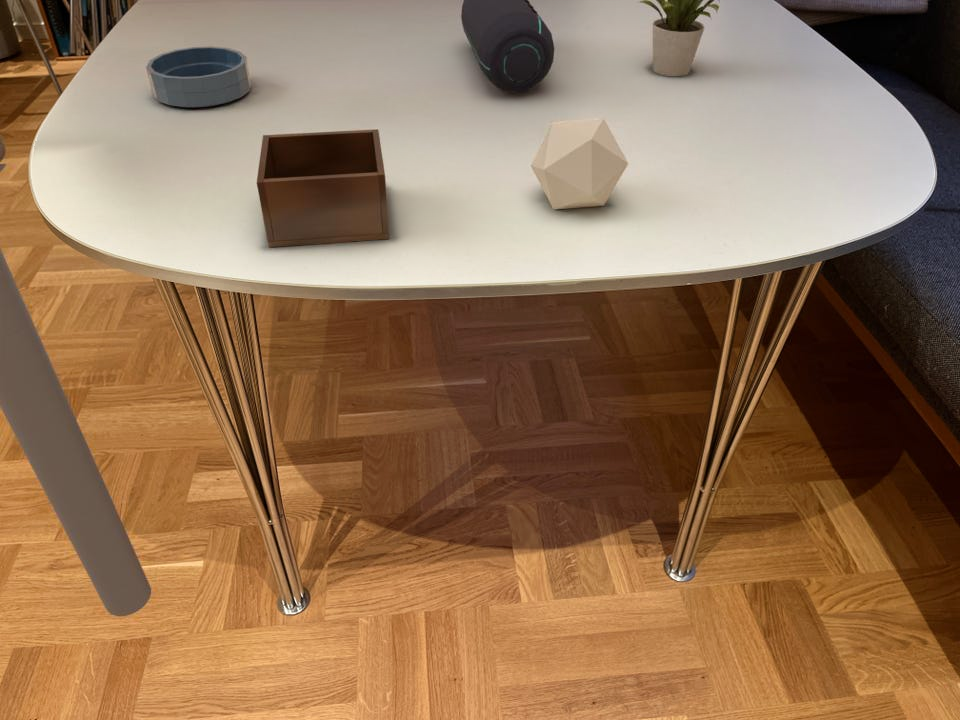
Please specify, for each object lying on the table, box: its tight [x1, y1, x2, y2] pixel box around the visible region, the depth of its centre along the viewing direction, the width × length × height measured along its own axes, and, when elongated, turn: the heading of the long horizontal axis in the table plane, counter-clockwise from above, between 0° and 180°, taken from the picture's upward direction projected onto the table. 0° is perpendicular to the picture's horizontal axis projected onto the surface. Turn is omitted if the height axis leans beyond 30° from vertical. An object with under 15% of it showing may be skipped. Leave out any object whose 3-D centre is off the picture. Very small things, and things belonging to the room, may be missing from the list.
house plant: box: [637, 0, 720, 77], centre depth 105 cm, size 14×14×16 cm
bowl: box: [145, 45, 252, 109], centre depth 100 cm, size 12×12×4 cm
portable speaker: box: [460, 0, 555, 93], centre depth 106 cm, size 25×10×10 cm, turn 9°
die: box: [530, 118, 629, 211], centre depth 77 cm, size 8×9×10 cm
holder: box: [256, 128, 390, 248], centre depth 74 cm, size 11×10×7 cm
